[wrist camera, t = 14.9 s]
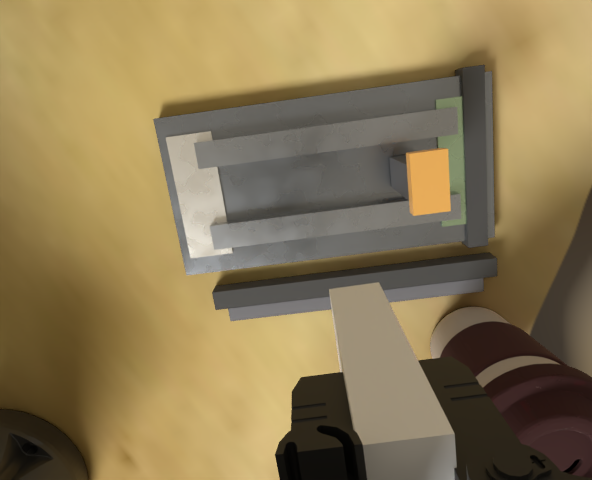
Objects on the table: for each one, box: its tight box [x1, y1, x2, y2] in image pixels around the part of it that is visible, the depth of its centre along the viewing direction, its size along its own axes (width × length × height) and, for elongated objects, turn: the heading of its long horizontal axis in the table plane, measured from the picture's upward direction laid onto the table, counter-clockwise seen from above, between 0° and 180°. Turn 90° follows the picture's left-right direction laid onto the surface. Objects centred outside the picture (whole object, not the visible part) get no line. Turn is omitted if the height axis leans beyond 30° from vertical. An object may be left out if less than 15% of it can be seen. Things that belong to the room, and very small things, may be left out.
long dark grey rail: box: [212, 253, 497, 321], centre depth 38 cm, size 24×3×2 cm, turn 98°
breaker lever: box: [389, 148, 451, 216], centre depth 32 cm, size 2×4×7 cm, turn 8°
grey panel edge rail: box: [455, 65, 488, 248], centre depth 35 cm, size 2×14×2 cm, turn 8°
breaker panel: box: [154, 71, 495, 275], centre depth 36 cm, size 26×13×2 cm, turn 98°
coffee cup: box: [430, 307, 592, 478], centre depth 33 cm, size 10×10×15 cm
